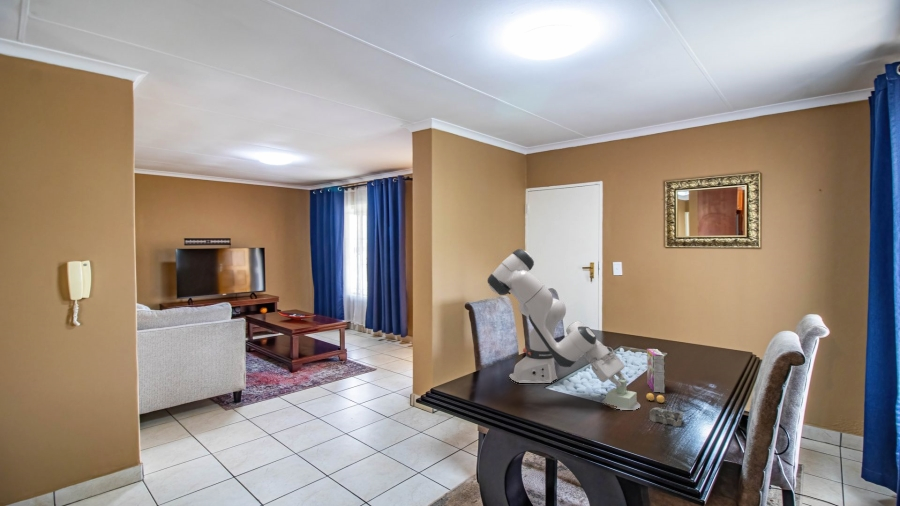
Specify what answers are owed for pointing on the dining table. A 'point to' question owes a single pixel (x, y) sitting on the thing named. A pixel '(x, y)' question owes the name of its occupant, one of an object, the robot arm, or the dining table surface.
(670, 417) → the egg carton
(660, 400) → the amber marble
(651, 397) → the amber marble
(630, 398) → the sage cover
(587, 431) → the dining table surface
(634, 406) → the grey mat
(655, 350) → the candy bar box
